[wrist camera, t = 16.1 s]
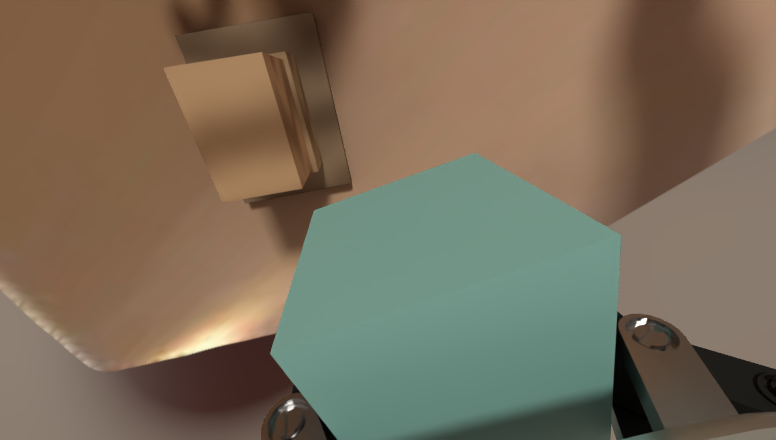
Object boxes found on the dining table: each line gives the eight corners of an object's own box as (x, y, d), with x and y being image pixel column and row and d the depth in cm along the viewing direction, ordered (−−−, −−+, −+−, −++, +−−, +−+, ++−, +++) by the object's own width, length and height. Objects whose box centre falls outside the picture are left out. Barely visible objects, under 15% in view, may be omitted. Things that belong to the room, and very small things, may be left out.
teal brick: (314, 210, 10) (270, 353, 5) (475, 152, 10) (621, 235, 5) (392, 366, 14) (416, 540, 9) (508, 327, 14) (607, 482, 8)
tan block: (208, 71, 23) (163, 67, 17) (282, 59, 23) (261, 51, 18) (248, 178, 27) (222, 202, 21) (312, 167, 27) (302, 188, 22)
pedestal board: (182, 37, 26) (144, 27, 21) (313, 14, 26) (305, -1, 21) (248, 199, 33) (231, 218, 28) (351, 179, 33) (351, 195, 29)
